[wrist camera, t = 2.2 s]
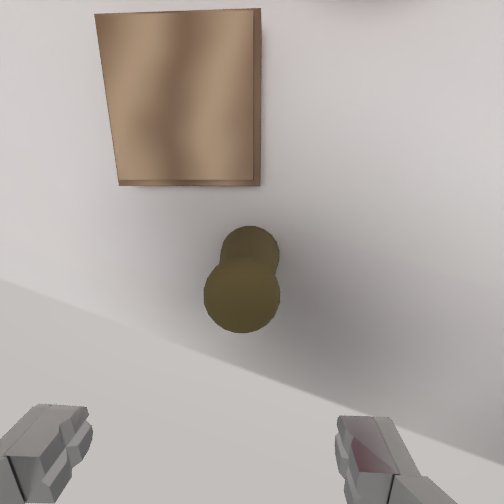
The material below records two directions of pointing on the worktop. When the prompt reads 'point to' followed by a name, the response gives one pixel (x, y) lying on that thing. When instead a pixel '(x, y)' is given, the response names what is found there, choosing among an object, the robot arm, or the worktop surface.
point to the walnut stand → (184, 96)
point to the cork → (244, 281)
